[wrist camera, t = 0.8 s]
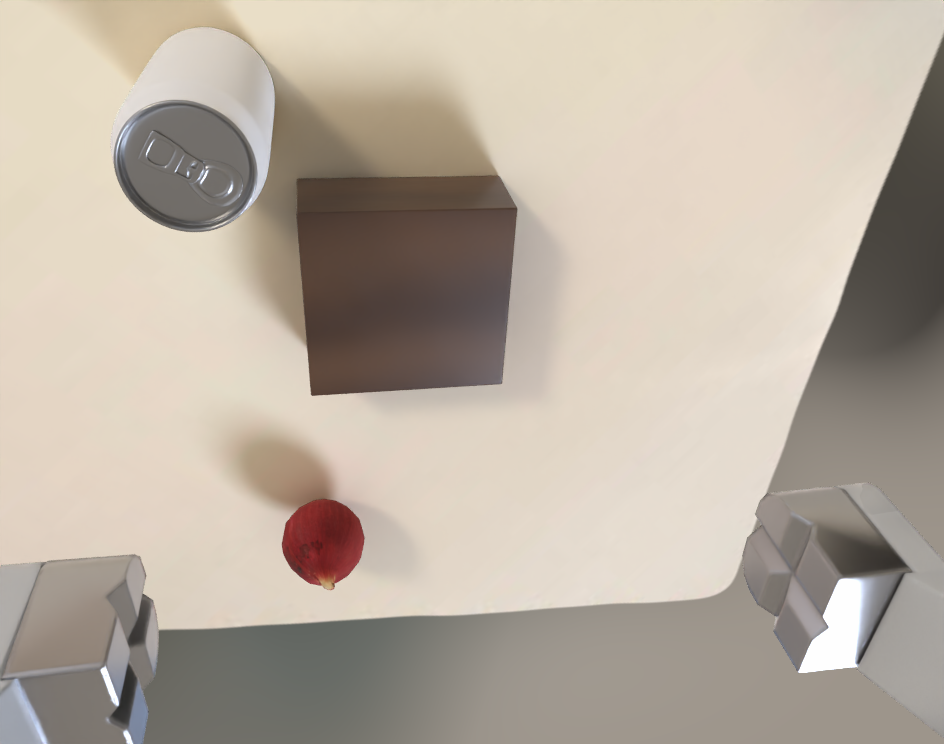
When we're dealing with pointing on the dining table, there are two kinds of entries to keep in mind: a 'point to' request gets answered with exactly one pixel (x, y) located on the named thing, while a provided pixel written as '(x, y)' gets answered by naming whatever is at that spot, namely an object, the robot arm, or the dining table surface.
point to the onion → (323, 542)
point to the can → (196, 131)
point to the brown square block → (405, 281)
